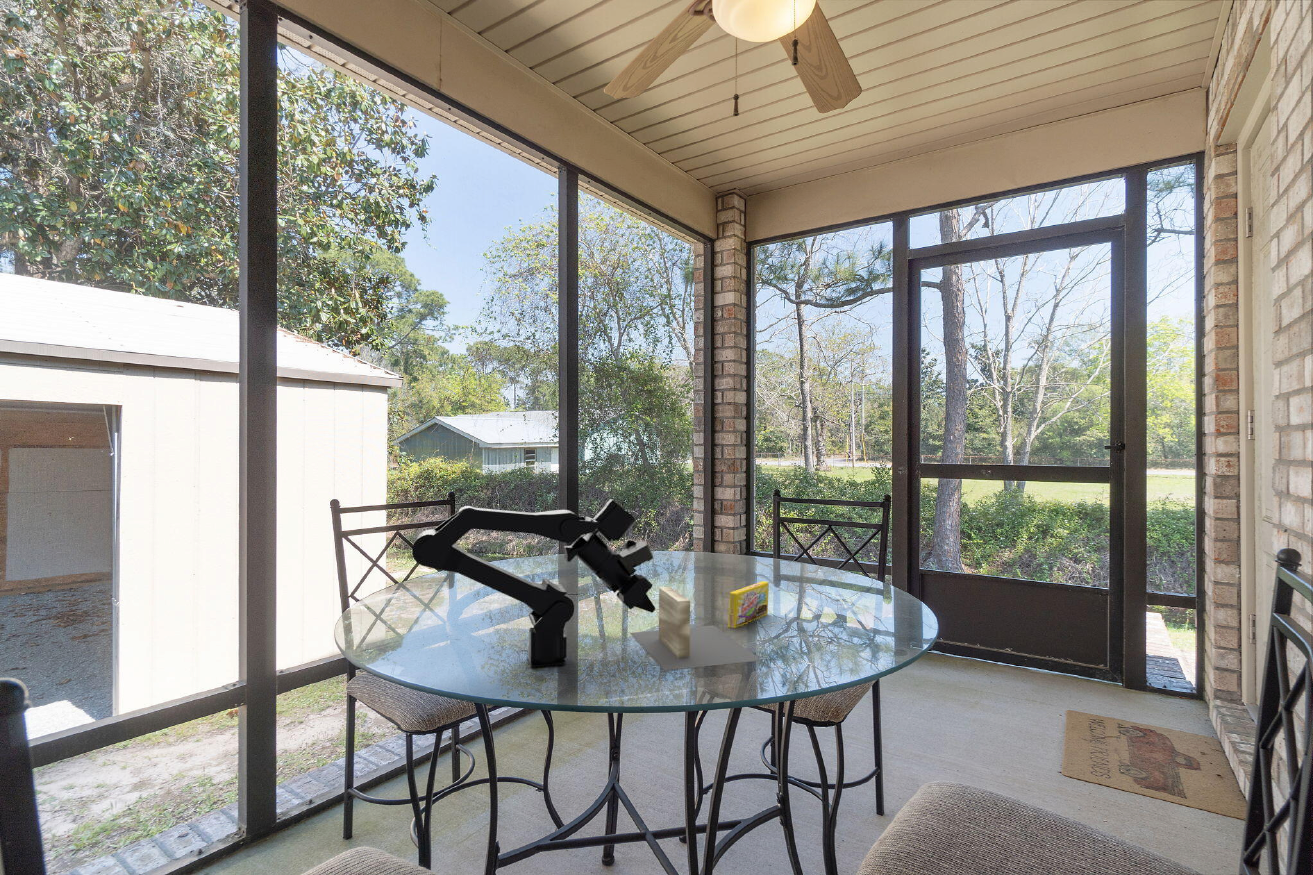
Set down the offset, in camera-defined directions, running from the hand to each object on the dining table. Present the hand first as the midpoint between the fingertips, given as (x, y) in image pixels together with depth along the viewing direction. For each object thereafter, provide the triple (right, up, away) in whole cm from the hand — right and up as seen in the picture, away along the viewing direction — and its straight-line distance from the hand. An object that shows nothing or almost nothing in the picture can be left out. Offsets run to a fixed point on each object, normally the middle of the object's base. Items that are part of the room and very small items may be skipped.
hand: (653, 610), depth 130 cm
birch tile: (+4, -8, +1) cm, 9 cm away
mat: (+8, -8, +3) cm, 12 cm away
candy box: (+23, -9, +22) cm, 33 cm away
